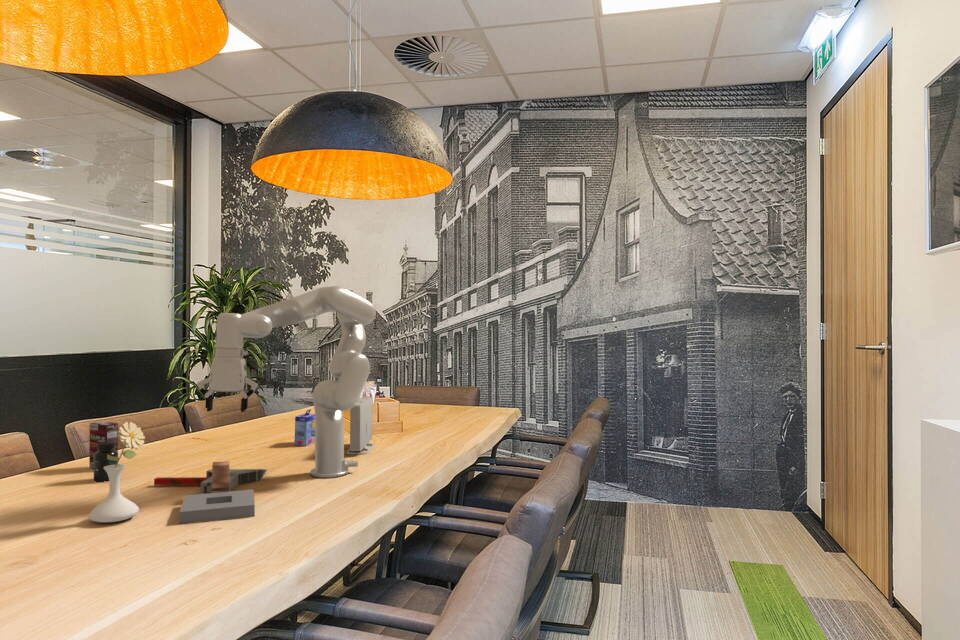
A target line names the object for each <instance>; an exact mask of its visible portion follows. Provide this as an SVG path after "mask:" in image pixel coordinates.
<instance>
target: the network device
mask: <svg viewBox="0 0 960 640" xmlns="http://www.w3.org/2000/svg"><path fill="white" fill-rule="evenodd" d="M349 413H350V414H349V418H350V420H349V448H348V449H347V451H346V452H345V454H346V453H347V455H351V454H352V456H353V455H356V456H357V455H359V456H360V455H363V456H364V455H367V454H369V453H371V452H372V450H373V449H374V448H375V447H376V444H375V443H370V442H371V441H372V439H373V396H361V397H359V399H358V401H357V403H356V404H355V405H354V407H353V408H351V409H350V410H349ZM368 446H369V447H368ZM361 451H363V452H361ZM364 451H365V452H364Z"/></svg>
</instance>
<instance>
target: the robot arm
mask: <svg viewBox="0 0 960 640" xmlns="http://www.w3.org/2000/svg"><path fill="white" fill-rule="evenodd" d="M376 310H377V309H376V308H375V305H374V304H373V303H372V302H370V301H369V300H367V299H366V298H363V297H362V296H360V295H358V294H356V293H354V292H353V291H351V290H349V289H346V288H344V287H341V286H337V285H335V286H332V285H331V286H323V287H319V288H318V287H317V288H315V289H313V290H310V291H308V292H305V293H304V292H303V293H302V294H300V295H296V296H293V297H291V298H287V299H284V300H280V301H278V302H275V303H272V304H268V305H266V306H265V305H264V306H263V307H260V308H259V307H258V308H256V309H253V310H250V311H248V312H245V313H242V314H241V313H238V312H237V313H235V312H222V313H219V314H218V315H217V320H216V337H215V339H216V340H215V341H216V342H215V357H213V359H212V362H211V365H210V366H211V367H210V372H209V377H207V378H205V379H202V380H200V381H198V382H197V383H196V385H197V388H198V390H199V392H200V393H201V394H202V395H203V396H204V398H205V409H206V412H211V411H213V408H214V403H213V402H214V398H213V396H212V395H213V394H214V393H217V392H218V393H239V394H240V395H241V396H242V398H241V400H240V402H241V403H240V412H241V413H244V412H246V410H247V409H248V407H249V398H250V397H251V396H252V395H253V394H254V393H255V392H256V390H257V388H258V386H259V384H258V383H257V382H255V381H253V380H252V379H250V378H248V374H247V363H246V359H245V358H244V356H248V350H245V349H244V338H246V339H247V338H251V339H252V338H253V339H263V338H266V337H267V336H268V335H270V334H271V332H272V330H273V328H279V327H282V326H292V325H296V324H300V323H303V322H306V321H308V320H311V319H313V318H315V317H319V316H321V315H323V314H327V313H330V312H333V313H334V312H336V317H337V319H338V322H339V324H340V328H341V337H340V340H339V343H338V345H337V347H336V349H335V352H334V354H333V356H332V358H331V360H330V362H329V366H328V369H329V372H330V374H331V376H333V377H334V378H336V379H338V380H334V379H333V380H332V379H326V380H325V379H324V380H322V381H320V382H318V383H317V384H316V385H315V386H314V389H313V392H312V401H313V402H312V403H313V408H314V409H313V410H314V414H315V442H314V443H315V444H314V445H315V446H314V447H315V449H314V468H312V469H311V470H310V471H309V473H310V476H312V477H314V478H320V479H321V478H323V479H327V478H338V477H342V475H343V476H345V474H346V475H347V474H348V473H349V468H357V467H358V466H359V462H358V460H346V459H345V416H344V412H347V411H350V409H351V408H353V407H354V405H355V404H356V403H357V401H358V399H360V398H361V397H360V396H361V394H362V392H363V390H364V387H365V386H366V382H367V381H368V377H369V375H370V371H371V370H370V369H371V364H370V360H369V359H368V357H367V355H365V354H363V351H364V348H365V346H366V341H367V335H366V331H365V326H367V325H370V324H371V323H373V322H374V321H375V318H376V315H377V311H376ZM207 383H208V390H207V389H206V388H205V386H204V385H206V384H207ZM248 385H249V386H251V387H250V389H249V390H248V391H247V388H248ZM337 476H338V477H337Z"/></svg>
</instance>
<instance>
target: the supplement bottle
mask: <svg viewBox="0 0 960 640" xmlns="http://www.w3.org/2000/svg"><path fill="white" fill-rule="evenodd" d="M114 448H115V442H100V443H98V444H97V449H98V451H97V452H96V453H95V454H94V469H93V481H94V482H95V481H96V482H95V483H105V482H104V481H109V477H108V474H107V472H106V471H105V469H104V467H105V466H109V465H116V463H117V461H113V460H108V459H107V455H110V456H113V457H119V451H118V452H117V451H116V450H114Z"/></svg>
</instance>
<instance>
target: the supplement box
mask: <svg viewBox="0 0 960 640" xmlns="http://www.w3.org/2000/svg"><path fill="white" fill-rule="evenodd" d="M100 442H115V448H114V450H116V451H117V452H118V453H119V423H118V422H111V421H110V422H109V421H96V422H95V421H94V422H90V423H89V463H88V465H89V466H88V467H89V469H92V468H94V454H95V453H96V452H97V451H98V449H97V444H98V443H100Z"/></svg>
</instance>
